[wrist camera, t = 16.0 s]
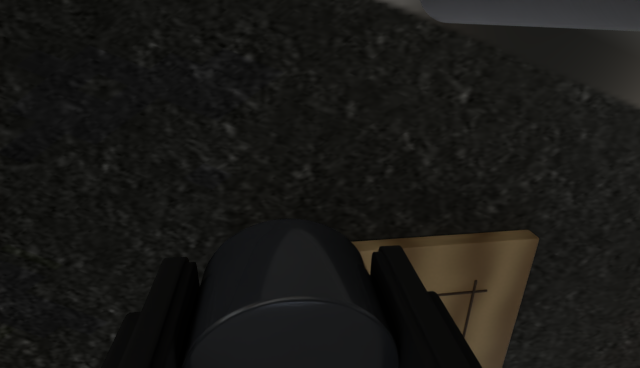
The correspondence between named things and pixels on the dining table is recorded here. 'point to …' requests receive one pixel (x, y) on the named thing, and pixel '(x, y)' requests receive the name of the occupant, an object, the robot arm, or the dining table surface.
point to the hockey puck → (289, 303)
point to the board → (472, 281)
